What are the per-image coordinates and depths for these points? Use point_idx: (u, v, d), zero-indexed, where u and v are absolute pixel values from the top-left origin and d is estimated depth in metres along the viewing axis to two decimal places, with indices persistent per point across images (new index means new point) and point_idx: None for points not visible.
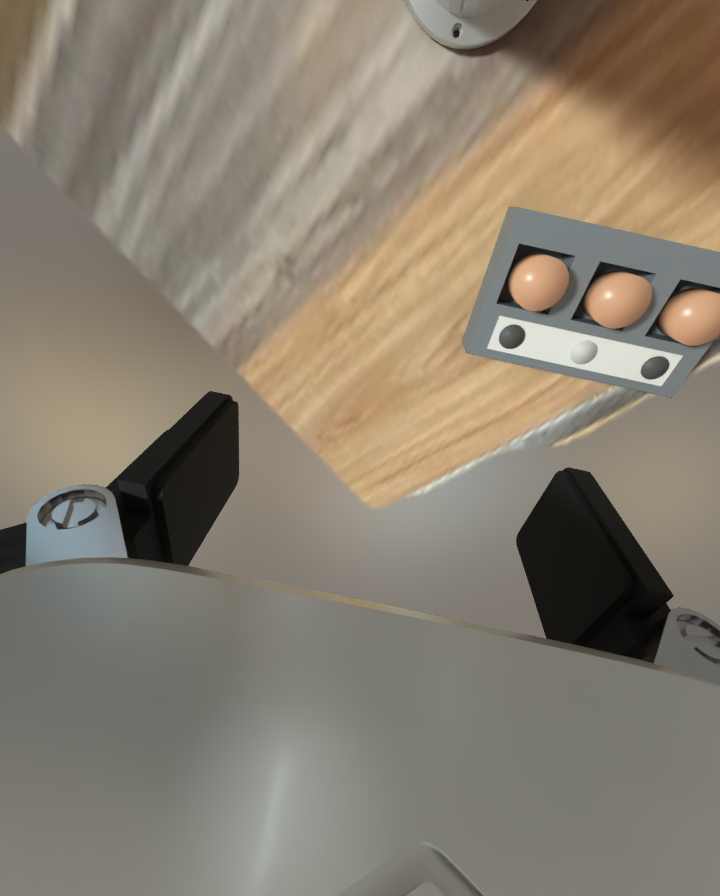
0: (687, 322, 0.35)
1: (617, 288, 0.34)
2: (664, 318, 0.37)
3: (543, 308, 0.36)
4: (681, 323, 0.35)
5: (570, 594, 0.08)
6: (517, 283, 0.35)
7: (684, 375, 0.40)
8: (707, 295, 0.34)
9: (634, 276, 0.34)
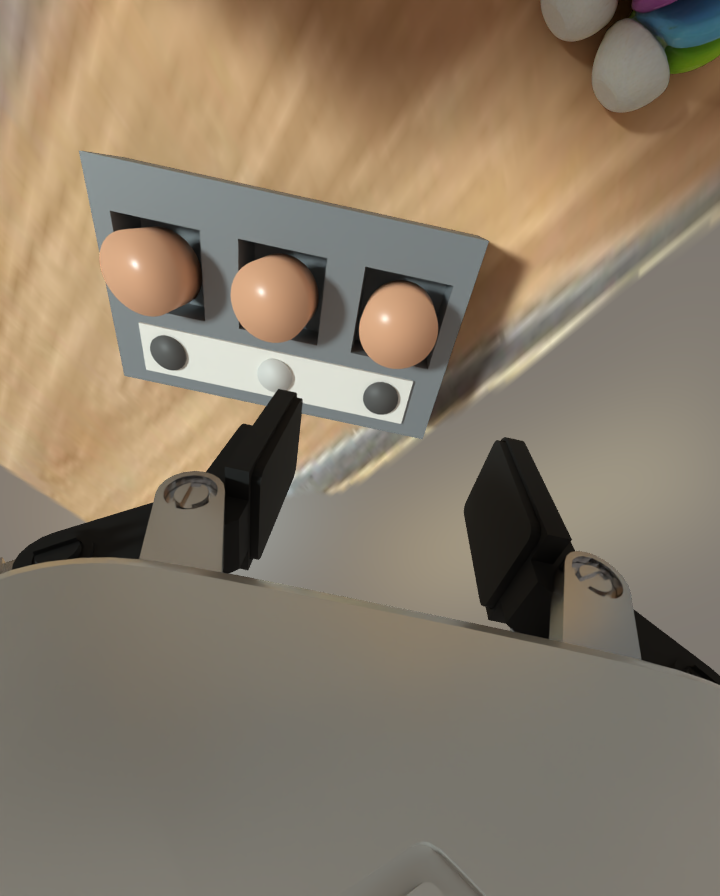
0: (376, 333, 0.23)
1: (250, 280, 0.22)
2: None
3: (162, 312, 0.23)
4: (367, 335, 0.23)
5: (496, 549, 0.09)
6: (104, 273, 0.22)
7: (427, 409, 0.28)
8: (387, 291, 0.21)
9: (266, 261, 0.21)
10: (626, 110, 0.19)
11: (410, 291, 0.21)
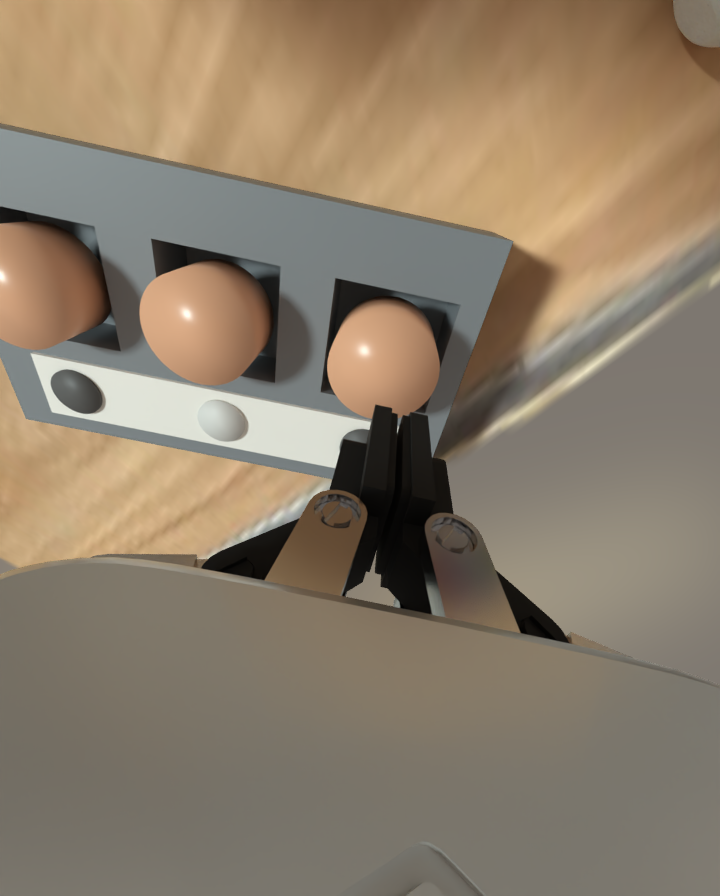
0: (351, 374, 0.16)
1: (165, 301, 0.15)
2: None
3: (47, 344, 0.16)
4: (340, 377, 0.16)
5: (387, 517, 0.09)
6: None
7: None
8: (366, 316, 0.15)
9: (186, 273, 0.14)
10: None
11: (399, 316, 0.14)
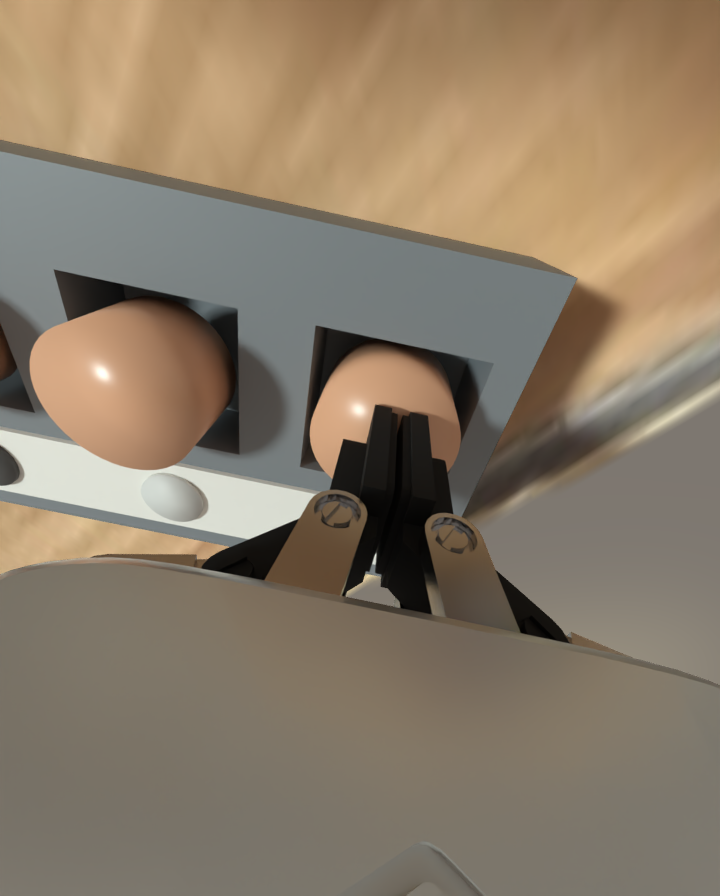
0: (341, 444, 0.12)
1: (64, 362, 0.10)
2: None
3: None
4: (326, 447, 0.12)
5: (387, 517, 0.09)
6: None
7: None
8: (361, 373, 0.11)
9: (88, 324, 0.09)
10: None
11: (407, 374, 0.10)
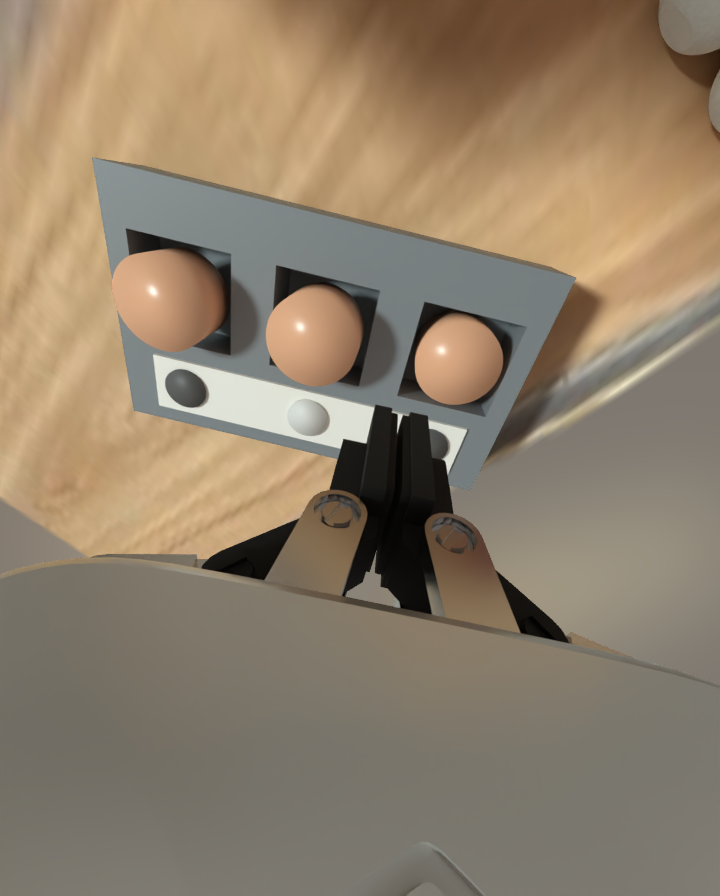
0: (433, 367, 0.21)
1: (291, 316, 0.18)
2: None
3: (183, 347, 0.20)
4: (424, 369, 0.21)
5: (387, 517, 0.09)
6: (117, 301, 0.19)
7: (480, 459, 0.24)
8: (451, 323, 0.19)
9: (312, 294, 0.18)
10: None
11: (477, 324, 0.19)
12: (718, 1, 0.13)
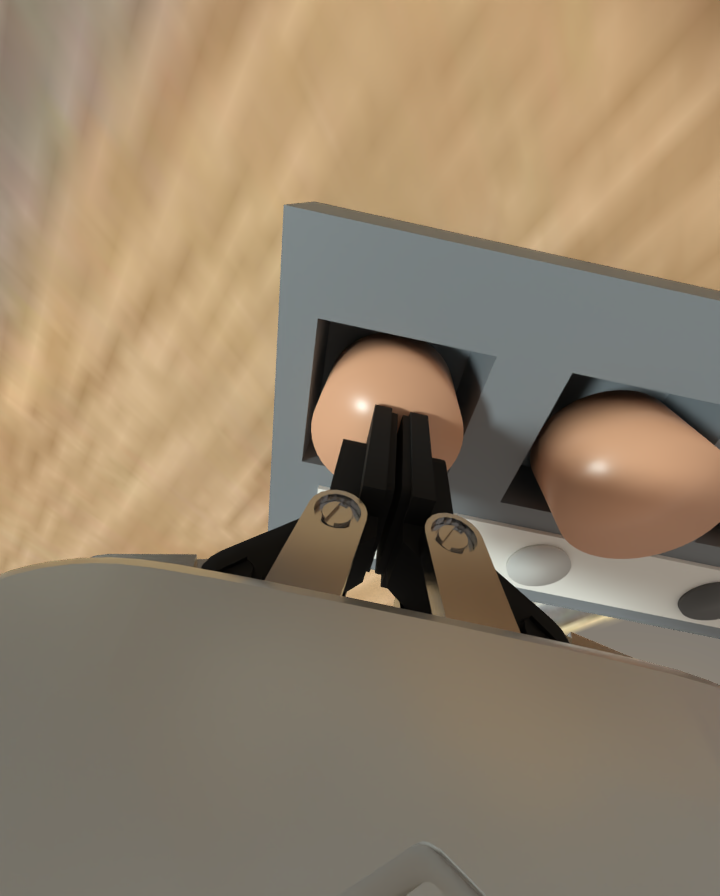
0: None
1: (626, 472, 0.10)
2: None
3: None
4: None
5: (387, 517, 0.09)
6: (316, 431, 0.12)
7: None
8: None
9: (685, 443, 0.10)
10: None
11: None
12: None
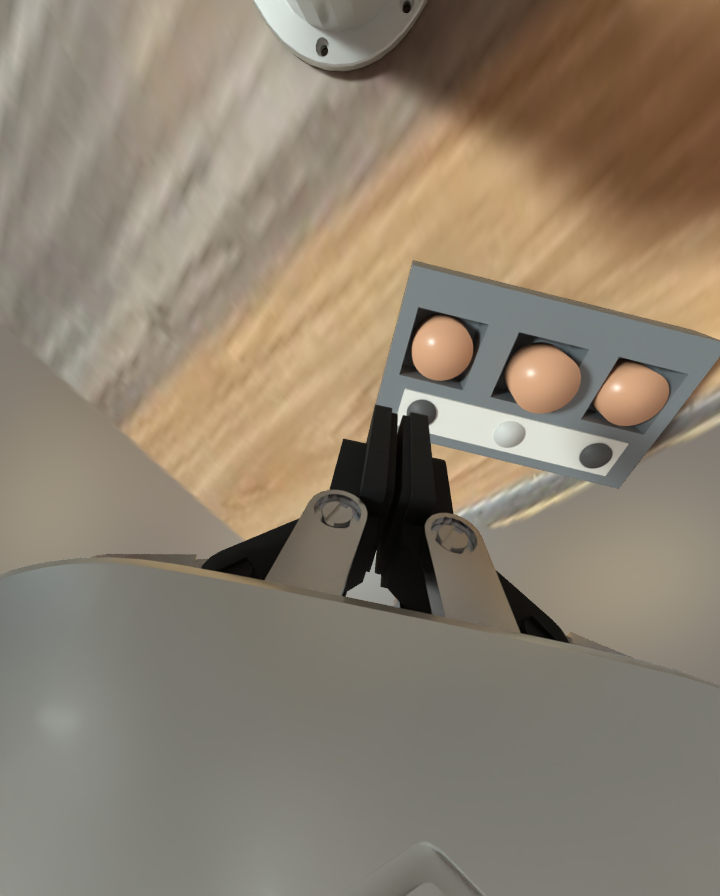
0: (616, 400, 0.30)
1: (537, 368, 0.27)
2: None
3: (447, 377, 0.30)
4: (608, 401, 0.30)
5: (387, 517, 0.09)
6: (414, 349, 0.29)
7: (632, 465, 0.33)
8: (636, 371, 0.28)
9: (557, 355, 0.27)
10: None
11: (655, 372, 0.28)
12: None
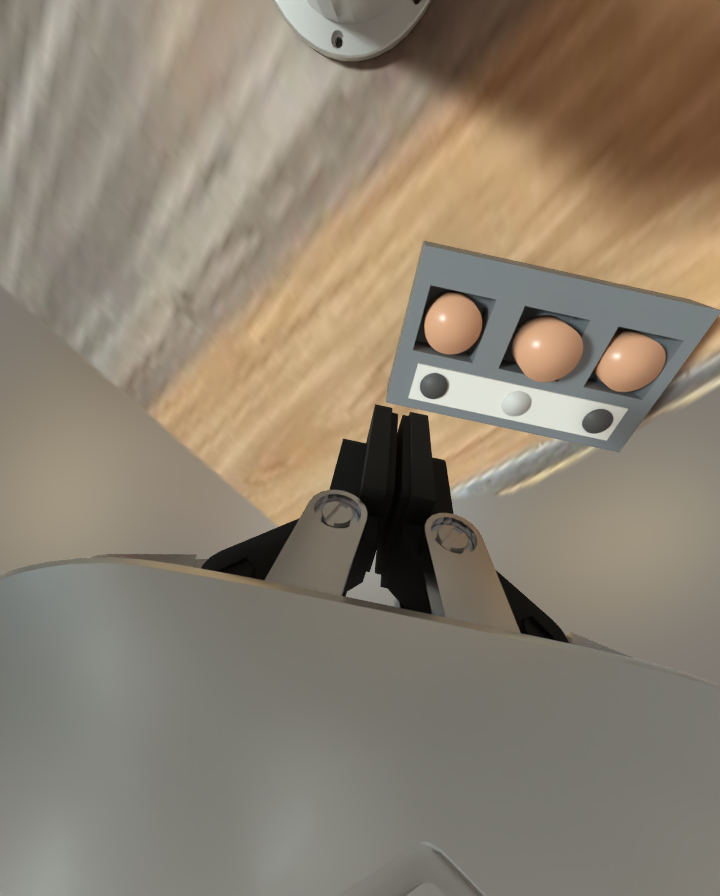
0: (616, 368, 0.32)
1: (542, 338, 0.29)
2: None
3: (458, 351, 0.33)
4: (609, 369, 0.32)
5: (387, 517, 0.09)
6: (426, 325, 0.32)
7: (631, 429, 0.35)
8: (634, 340, 0.31)
9: (561, 326, 0.29)
10: None
11: (652, 339, 0.30)
12: None
